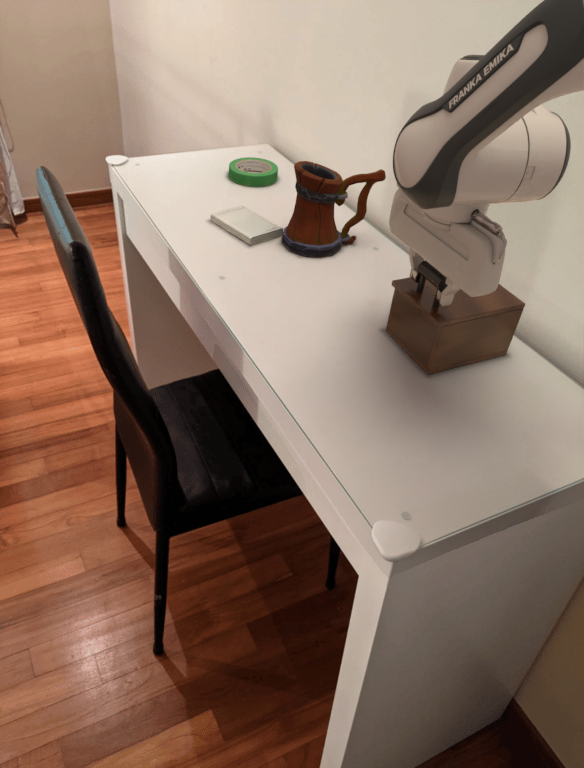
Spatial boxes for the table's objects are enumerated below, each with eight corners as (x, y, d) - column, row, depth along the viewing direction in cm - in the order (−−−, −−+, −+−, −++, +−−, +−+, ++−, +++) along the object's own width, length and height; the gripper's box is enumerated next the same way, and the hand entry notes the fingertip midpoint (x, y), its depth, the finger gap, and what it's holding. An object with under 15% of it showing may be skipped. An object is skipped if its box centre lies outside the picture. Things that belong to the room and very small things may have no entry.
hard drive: (283, 227, 117) (243, 204, 123) (250, 238, 112) (210, 213, 119) (283, 235, 118) (242, 212, 125) (250, 246, 113) (210, 221, 120)
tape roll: (249, 190, 133) (250, 178, 132) (218, 174, 139) (219, 162, 137) (287, 181, 139) (288, 169, 138) (256, 165, 145) (256, 154, 144)
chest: (428, 374, 87) (442, 326, 82) (385, 330, 95) (395, 284, 90) (506, 354, 93) (524, 308, 88) (459, 314, 101) (473, 270, 96)
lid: (437, 327, 82) (447, 292, 79) (391, 285, 90) (398, 251, 86) (524, 308, 88) (536, 275, 84) (473, 269, 96) (483, 238, 92)
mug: (364, 230, 123) (377, 155, 113) (381, 257, 114) (396, 179, 105) (276, 230, 119) (282, 153, 110) (287, 259, 111) (294, 177, 101)
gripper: (530, 228, 71) (495, 327, 80) (428, 165, 85) (408, 255, 94) (488, 234, 69) (456, 335, 77) (390, 168, 82) (373, 260, 91)
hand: (429, 291), depth 86 cm, fingers closed on lid, 5 cm apart
